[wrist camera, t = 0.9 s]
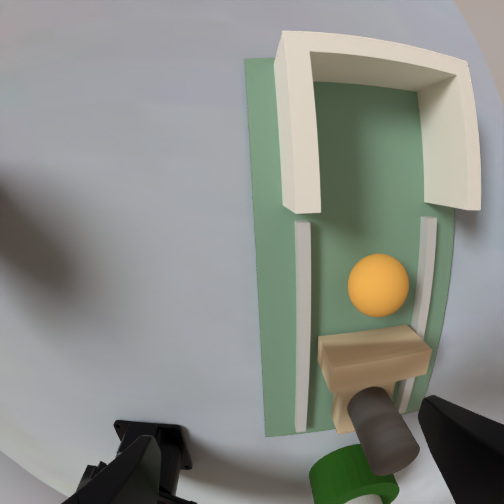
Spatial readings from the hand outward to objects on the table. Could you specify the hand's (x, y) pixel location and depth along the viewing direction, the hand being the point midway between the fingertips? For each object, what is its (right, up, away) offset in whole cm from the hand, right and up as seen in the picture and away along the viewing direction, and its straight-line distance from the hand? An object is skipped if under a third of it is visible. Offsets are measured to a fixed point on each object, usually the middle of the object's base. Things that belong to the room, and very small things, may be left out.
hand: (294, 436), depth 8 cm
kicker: (+7, -4, +13) cm, 15 cm away
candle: (+9, -17, +18) cm, 26 cm away
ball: (+7, +4, +10) cm, 12 cm away
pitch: (+6, +5, +12) cm, 15 cm away
